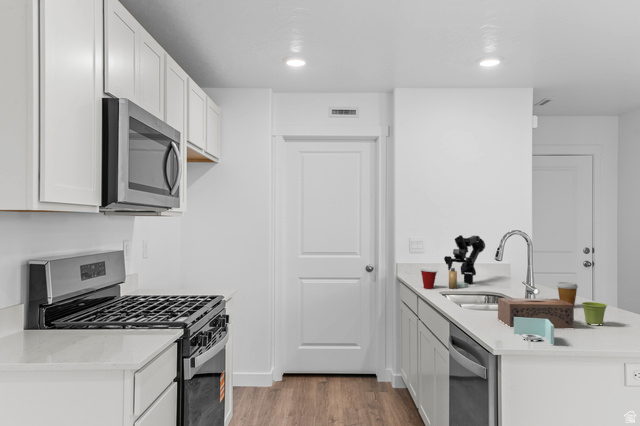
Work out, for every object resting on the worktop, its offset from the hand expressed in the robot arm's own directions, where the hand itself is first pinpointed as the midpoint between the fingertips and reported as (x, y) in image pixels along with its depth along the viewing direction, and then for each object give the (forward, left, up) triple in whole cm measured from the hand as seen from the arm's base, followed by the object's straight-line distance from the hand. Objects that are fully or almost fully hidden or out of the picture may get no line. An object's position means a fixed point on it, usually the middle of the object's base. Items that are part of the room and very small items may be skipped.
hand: (455, 270), depth 305 cm
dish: (-6, -1, -11) cm, 12 cm away
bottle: (+4, +1, -11) cm, 12 cm away
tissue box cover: (+67, +80, -11) cm, 105 cm away
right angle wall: (+94, +91, -12) cm, 132 cm away
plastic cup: (+16, -9, -11) cm, 22 cm away
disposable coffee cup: (+15, +74, -11) cm, 76 cm away
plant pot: (+48, +97, -11) cm, 109 cm away
